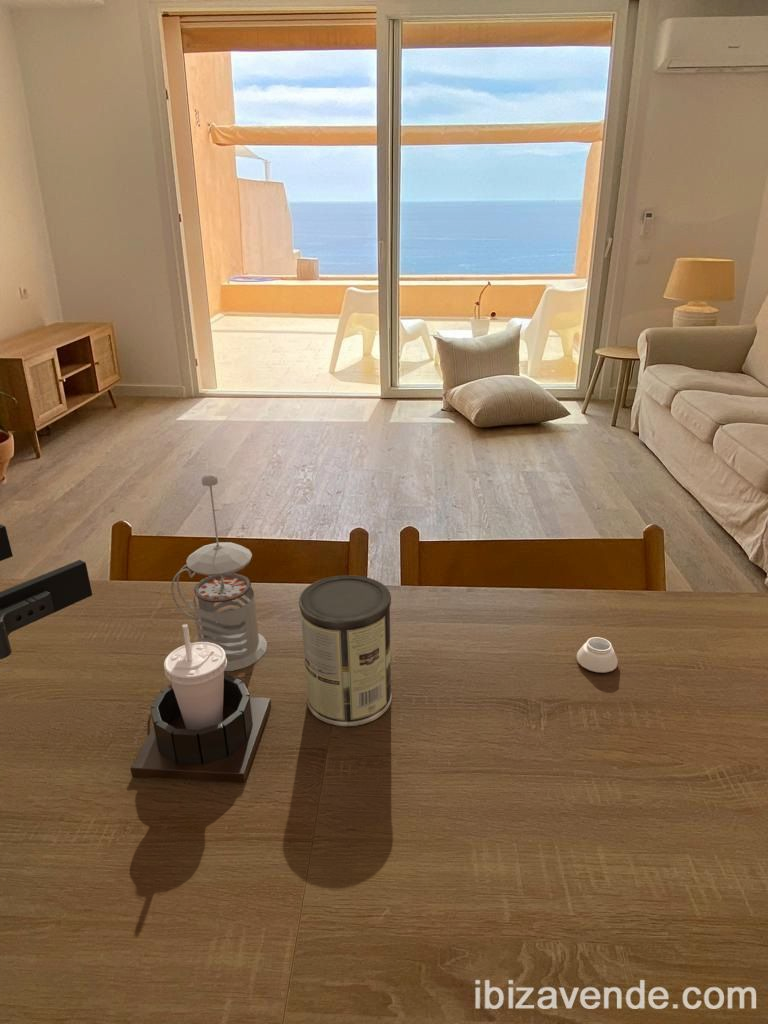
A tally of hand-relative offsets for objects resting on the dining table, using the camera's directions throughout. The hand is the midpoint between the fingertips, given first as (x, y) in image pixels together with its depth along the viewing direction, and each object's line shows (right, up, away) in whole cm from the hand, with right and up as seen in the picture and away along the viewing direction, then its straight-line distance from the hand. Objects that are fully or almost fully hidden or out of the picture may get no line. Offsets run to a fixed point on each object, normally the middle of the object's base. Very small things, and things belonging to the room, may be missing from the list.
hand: (44, 557), depth 54 cm
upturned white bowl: (+54, -16, +35) cm, 66 cm away
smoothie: (+7, -21, +23) cm, 32 cm away
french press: (+5, -15, +39) cm, 42 cm away
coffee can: (+22, -19, +30) cm, 42 cm away
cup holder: (+6, -22, +23) cm, 33 cm away
